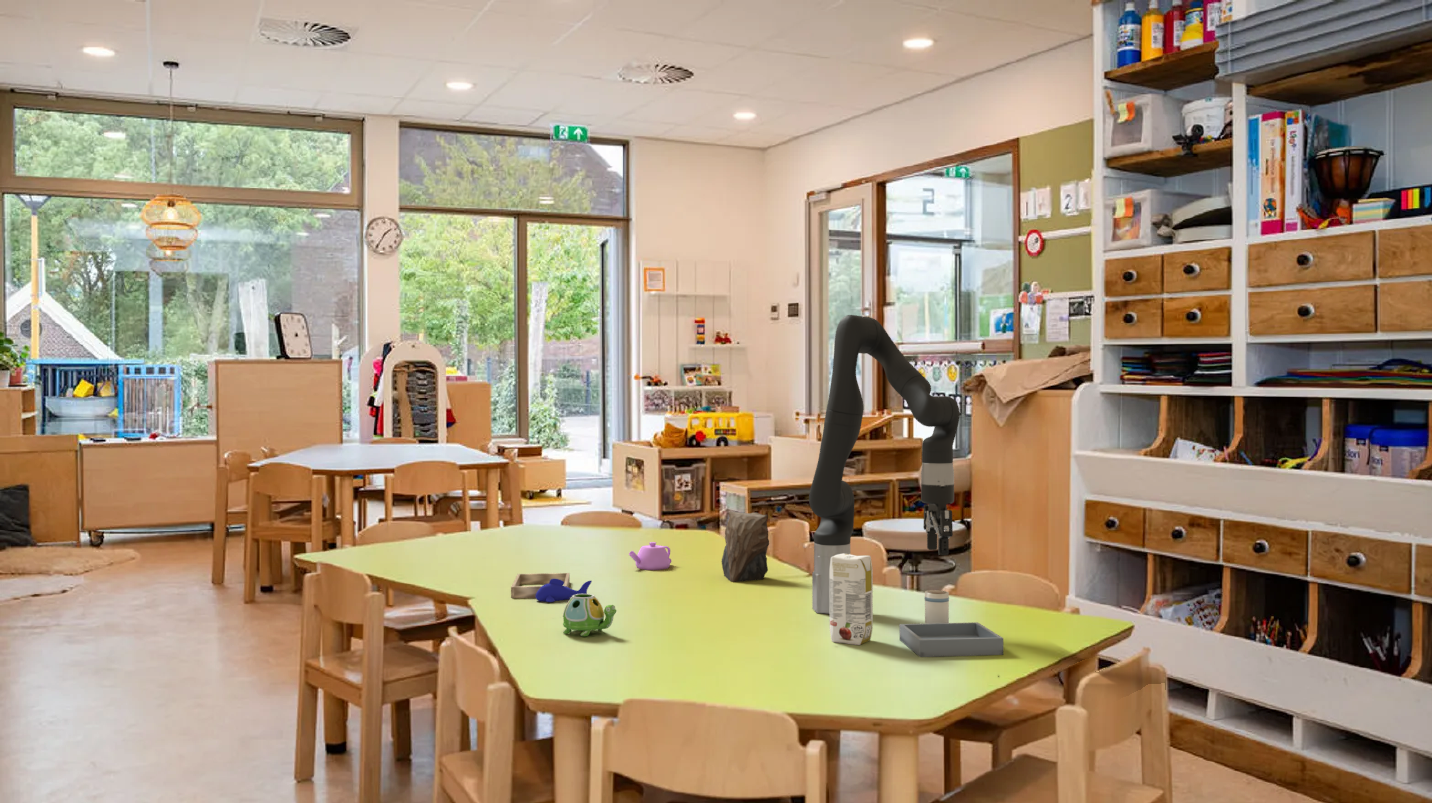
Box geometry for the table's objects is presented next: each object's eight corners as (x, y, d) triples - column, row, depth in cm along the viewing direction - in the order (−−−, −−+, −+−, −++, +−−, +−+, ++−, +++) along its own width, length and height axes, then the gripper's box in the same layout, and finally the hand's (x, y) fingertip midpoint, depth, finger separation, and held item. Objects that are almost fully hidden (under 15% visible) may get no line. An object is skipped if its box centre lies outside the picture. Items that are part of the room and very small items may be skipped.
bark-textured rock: (720, 578, 328) (720, 511, 328) (761, 576, 330) (761, 510, 330) (730, 585, 315) (729, 515, 315) (772, 583, 318) (772, 514, 318)
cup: (928, 634, 251) (928, 594, 251) (921, 628, 257) (921, 590, 257) (952, 633, 252) (952, 593, 252) (944, 628, 257) (944, 589, 257)
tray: (919, 657, 229) (919, 640, 229) (899, 639, 245) (899, 624, 245) (1003, 654, 231) (1003, 638, 231) (977, 637, 247) (977, 622, 247)
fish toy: (538, 608, 283) (538, 582, 283) (532, 603, 290) (532, 577, 290) (595, 604, 288) (595, 578, 288) (588, 599, 295) (588, 574, 295)
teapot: (679, 572, 338) (679, 542, 338) (637, 577, 330) (637, 546, 330) (662, 568, 347) (662, 538, 347) (620, 572, 338) (620, 542, 338)
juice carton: (861, 646, 239) (861, 559, 238) (826, 642, 243) (825, 556, 243) (875, 640, 245) (875, 555, 245) (840, 635, 250) (840, 552, 249)
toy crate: (511, 602, 290) (511, 587, 290) (517, 588, 312) (517, 573, 312) (566, 601, 292) (566, 586, 292) (569, 587, 313) (569, 573, 313)
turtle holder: (606, 639, 247) (606, 601, 247) (555, 634, 252) (555, 597, 252) (623, 631, 255) (623, 594, 255) (574, 626, 260) (574, 590, 260)
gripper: (912, 480, 261) (913, 548, 261) (931, 485, 247) (931, 557, 247) (943, 479, 262) (943, 547, 262) (963, 484, 248) (963, 556, 248)
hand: (937, 552), depth 254 cm, fingers open, 8 cm apart
